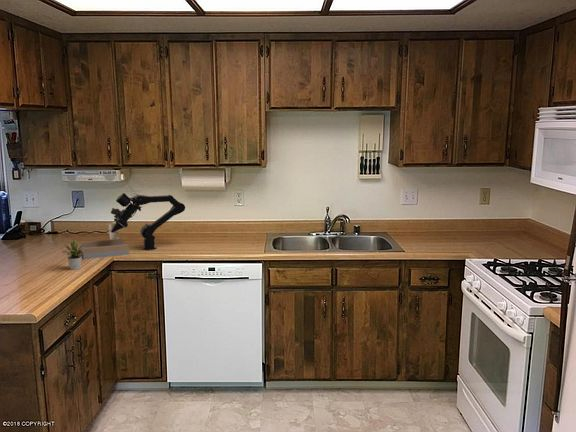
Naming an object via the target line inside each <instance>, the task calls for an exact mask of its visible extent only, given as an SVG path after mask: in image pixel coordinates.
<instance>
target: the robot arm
mask: <svg viewBox="0 0 576 432" xmlns="http://www.w3.org/2000/svg"><path fill="white" fill-rule="evenodd" d="M115 202H116V203H118V204H119V205H120V206H121V207H123V208H124V207H125V208H124V209H122V210H120V208H115V207H112V209H111V210H110V214H112V215H113V217H114V218H113V221H116V225H115V226H114V228H113V229H112V231H111V232H112V233H113V232H115V231H117V230H118V231H119V230H122V229H123V228H127V227H128V226H129V223H128V221H129V219H130V218H131V219H132V218H133V215H134V214H135V213H136V212H137V211H139V212H142V209H141V208H142V206H143V205H147V204H150V203H166V202H167V203H170V204H171V205H172V206H171V208H170V209H169V210H168V211H167V212H166V213H164V214H163V215H162V216H160V217H159V218H157V219H156V220H155V221H153V222H152V223H150V224H149V223H146V224H144V225H143V226H141V229H140V231H139V234H140V235H141V236H142V238H144V239H143V247H142V250H145V251H152V250H155V249H157V247H155V238H156V237H155V236H154V235H153V234H154V233H155V232H156V230H157V229H158V228H160V227H161V226H162V225H164V224H165V223H166V222H167V221H169V220H170V219H172V218H173V217H174V216H177V215H179V214H182V213H183V212H184V211H185V209H186V206H185V204H184V203H182V202H180V201H178V200H177V199H176V198H175V197H174V196H173V195H171V194H166V195H164V194H163V195H144V194H136V195H135V196H134V197H129V196H128V195H127V194H126V193H124V192H123V193H121V194H120V195H119V196H117V198H116V200H115Z"/></svg>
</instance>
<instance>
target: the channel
mask: <svg viewBox="0 0 576 432" xmlns="http://www.w3.org/2000/svg"><path fill="white" fill-rule="evenodd" d="M84 243H85V244H84ZM81 245H82V246H81ZM80 246H81V248H80V249H81V250H80V251H81V256H82V258H83V259H84V260H88V259H95V258H105V257H115V256H126V255H127V256H128V255H129V254H130V253H129V252H130V251H129V244H128V243H125V238H119V239H111V240H110V239H105V240H104V239H103V240H91V241H81V242H80ZM82 248H84V249H82ZM83 252H85V253H83Z"/></svg>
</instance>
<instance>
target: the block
mask: <svg viewBox="0 0 576 432" xmlns="http://www.w3.org/2000/svg"><path fill="white" fill-rule="evenodd" d="M107 224H108V225H107V226H108V239H109V240H113V239H120V235H119V230H117V231H115V232H113V233H112V232H111V231H112V229H113V228H114V226H115V225H116V221H114V220H113V221H108V222H107Z"/></svg>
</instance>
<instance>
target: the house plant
mask: <svg viewBox="0 0 576 432" xmlns="http://www.w3.org/2000/svg"><path fill="white" fill-rule="evenodd" d="M69 242H70V247H71V248H70V247H69V246H68V245H67V244H63V245H62V244H61V243H62V242H60V241H59V243H60V244H61V246H63V247H65V248H67V250H66V251H65V250H64V249H62V251H63V252H62V254H64V253H65V254H66V256H68V255H69V256H68V257H67V261H68V262H67V263H68V266H69V269H70V270H72V271H74V270H80V269H82V268H81V266H82V258H83V255H82V251H81V246H82V245H81V244H80V246H79V248H78V245H79V244H78V240H76V239H73V240H71V239H70V238H69ZM84 244H85V243H84ZM82 249H84V248H82ZM83 253H85V252H83Z"/></svg>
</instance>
